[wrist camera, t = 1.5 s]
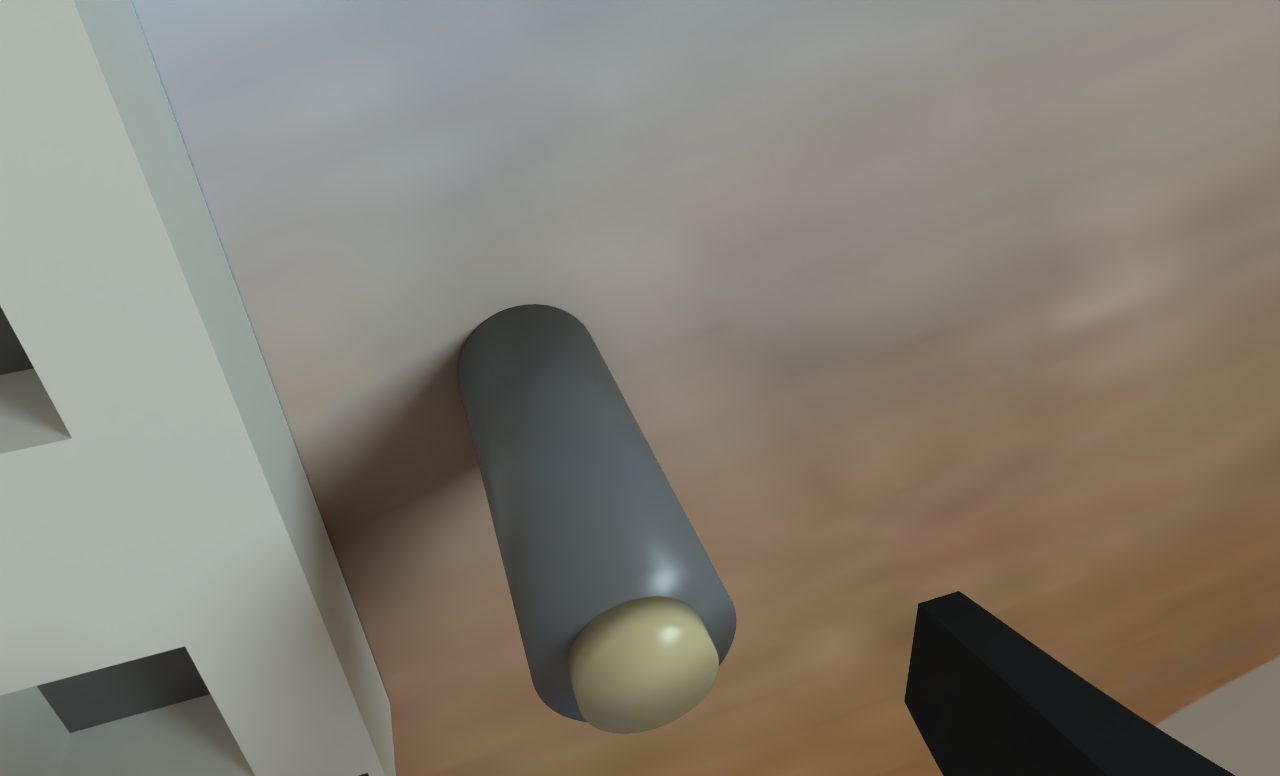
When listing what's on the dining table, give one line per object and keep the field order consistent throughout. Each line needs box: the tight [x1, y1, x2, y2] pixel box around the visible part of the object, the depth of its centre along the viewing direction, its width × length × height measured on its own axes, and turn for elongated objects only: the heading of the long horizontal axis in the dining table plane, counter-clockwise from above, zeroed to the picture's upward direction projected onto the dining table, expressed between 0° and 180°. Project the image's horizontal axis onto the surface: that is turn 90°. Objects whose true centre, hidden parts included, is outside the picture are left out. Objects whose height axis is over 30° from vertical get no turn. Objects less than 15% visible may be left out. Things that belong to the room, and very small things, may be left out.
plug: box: [458, 304, 736, 734], centre depth 15 cm, size 3×3×9 cm
